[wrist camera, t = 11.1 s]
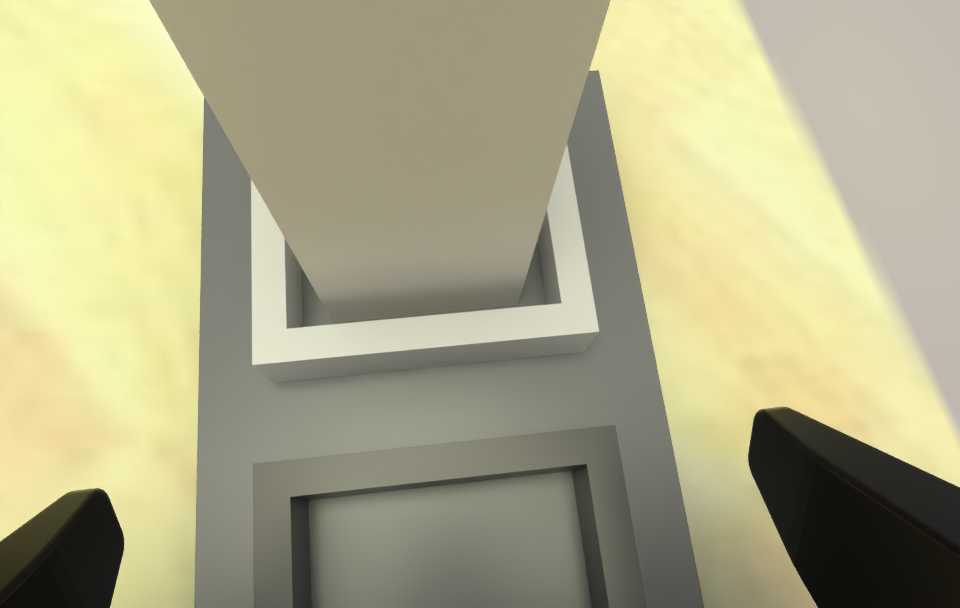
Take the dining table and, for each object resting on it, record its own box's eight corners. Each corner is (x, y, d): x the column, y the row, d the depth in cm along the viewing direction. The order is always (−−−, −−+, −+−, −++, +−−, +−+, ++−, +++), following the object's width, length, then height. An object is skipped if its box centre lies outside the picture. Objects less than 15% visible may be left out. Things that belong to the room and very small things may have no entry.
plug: (517, 304, 18) (692, -267, 5) (333, 323, 18) (9, -244, 5) (494, 145, 20) (584, -609, 7) (324, 159, 20) (61, -614, 6)
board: (730, 814, 16) (791, 877, 13) (205, 894, 15) (147, 980, 12) (592, 90, 22) (613, 25, 19) (215, 116, 21) (178, 51, 18)
